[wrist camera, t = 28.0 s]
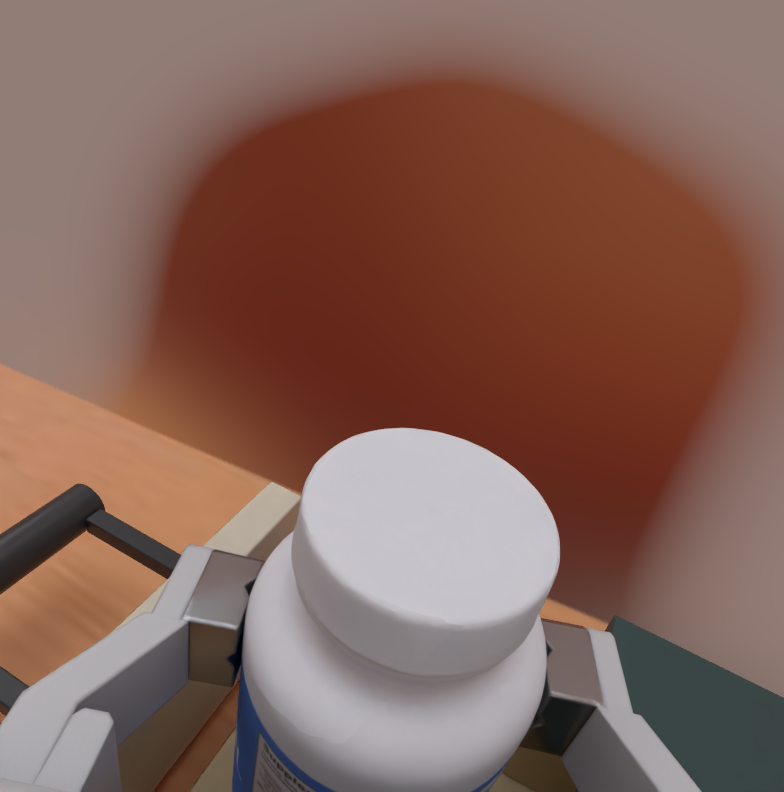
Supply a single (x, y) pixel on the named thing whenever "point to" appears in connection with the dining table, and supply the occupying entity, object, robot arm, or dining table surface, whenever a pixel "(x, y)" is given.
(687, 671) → the cabinet
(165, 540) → the dining table surface
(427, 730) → the pill bottle
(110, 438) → the dining table surface
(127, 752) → the drawer
